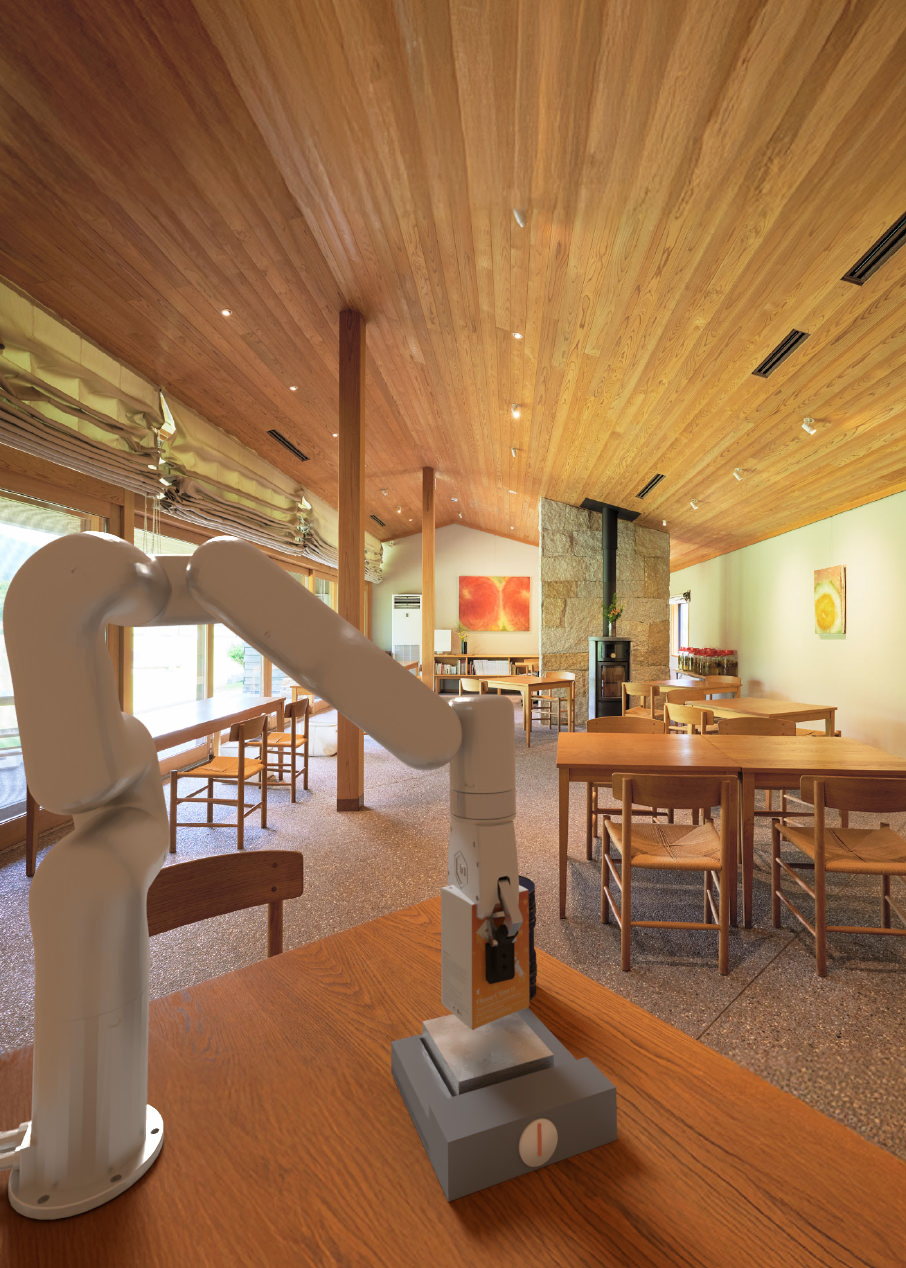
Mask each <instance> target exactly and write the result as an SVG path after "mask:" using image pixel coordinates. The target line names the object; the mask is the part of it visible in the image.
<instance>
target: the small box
mask: <svg viewBox="0 0 906 1268" xmlns="http://www.w3.org/2000/svg"><path fill="white" fill-rule="evenodd" d="M518 907H519V910H520V912H521V915H522V918H523V923H522V925H521V927H520V928H519V931H518V935H517V936H516V938H517V940H516V942H515V943H514V951H515V977H514V978H513V979H510V980H506V981H502V982H498V983H493V984H489V983H488V982H487V981H486V955H485V944H486V943H489V939H488V934H487V917H485V918H484V919H483V920H479V919H477V918H476V917H475V903H473V902H472V901H471V900H470V899H469V898H468V897H467V896H466V895H464V894H463V893H462V892H461V891H460V890H459V889H458V888H456V887H455V886H454V885H451V886H448V885H447V886H443V887H440V920H441V921H440V930H441V931H440V935H441V937H440V940H441V941H440V945H441V946H440V947H441V948H440V949H441V950H440V952H441V953H440V954H441V955H440V965H441V966H440V969H441V970H440V971H441V975H440V977H441V978H440V979H441V983H440V985H441V986H440V987H441V989H440V990H441V991H440V993H441V995H440V996H441V998H440V999H441V1001H440V1002H441V1005H443V1007H445V1008H446V1009H447V1010H448V1011H449V1012H450V1013H452V1014H454V1015H455V1016H456V1017H457V1018H458V1019H460V1020H461V1021H462V1022H463V1023H464V1024H465V1025H467V1026H468V1027H469V1028H470V1029H471V1030H474V1029H476V1028H478V1027H480V1026H483V1025H485V1024H487V1023H490V1022H492V1021H495V1020H497V1019H499V1018H502V1017H504V1016H507V1015H509V1014H512V1013H514V1012H517V1011H519V1010H522V1009H526V1008H529V1007H530V1002H529V898H528V889H526V888H524V887H522V886H520V885H519V904H518ZM499 911H503V909H502V906H501V904H495V906H494V909H493V912H499ZM493 912H492V913H493ZM494 924H495V929H496V931H497V929H498V928H499V926H500V925H503V924H504V918H498V919H494Z"/></svg>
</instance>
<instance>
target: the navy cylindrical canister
mask: <svg viewBox="0 0 906 1268" xmlns="http://www.w3.org/2000/svg"><path fill="white" fill-rule="evenodd" d="M519 885H520V886H522V887H524V888H526V889H528V898H529V1003H530V1001H531V1000H532V999H533V998H534V997H535V998H536V996H535V995H537V993H536V990H538V989H537V984H536V983H537V976H538V964H537V952H536V951H537V950H536V948H535V928H536V923H537V916H536V914H537V903H536V894H535V893H536V884H535V882H534V881H533V880H532V879H530V878H528V877H526V876H524V875H523V876H522V875H519ZM535 998H534V999H535ZM534 999H533V1000H534ZM533 1000H532V1001H533ZM532 1001H531V1002H532Z"/></svg>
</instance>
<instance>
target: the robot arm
mask: <svg viewBox="0 0 906 1268" xmlns="http://www.w3.org/2000/svg"><path fill="white" fill-rule="evenodd" d="M2 607H3V608H2V631H3V638H4V644H5V650H6V656H7V661H8V666H9V672H10V677H11V684H12V689H13V699H14V710H15V716H16V721H17V729H18V733H19V734H18V735H19V741H20V748H21V749H20V750H21V755H22V762H23V767H24V776H25V781H26V784H27V788H28V791H29V793H30V795H31V796H32V798H33V800H34V801H35V802H36V804H37V805H38V806H40V807H41V808H43V809H44V810H45V811H47V812H49V813H52V814H55V815H61V816H72V821H73V825H74V830H72V831H71V832H69V833H68V834H66V835H65V836H64V837H63V838H61V839H60V840H58V842H56V844H55V845H53V846H52V847H51V848H50V849H49V851H47V853H46V854H45V855H44V857H43V859H42V860H41V862H39V864H38V866H37V868H36V869H35V872H34V875H33V877H32V880H31V883H30V887H29V892H28V915H29V916H28V917H29V924H30V930H31V936H32V942H33V954H34V1002H33V1003H34V1006H33V1007H34V1020H33V1021H34V1023H33V1052H32V1053H33V1057H32V1087H31V1092H32V1093H31V1118H30V1120H28V1121H26V1122H25V1121H24V1122H21V1123H20V1124H19V1126H18V1127H17V1128H14V1129H9V1130H6V1131H0V1172H2V1171H7V1170H10V1169H11V1171H10V1173H9V1179H8V1185H7V1187H8V1190H7V1192H8V1201H9V1202H10V1206H11V1207H12V1208H13V1209H14V1210H15V1211H16V1212H17V1213H18V1214H20V1215H21V1216H25V1217H26V1218H30V1219H36V1220H56V1219H57V1220H59V1219H62V1218H69V1217H73V1216H76V1215H80V1214H82V1213H85V1212H88V1211H91V1210H93V1209H95V1208H97V1207H100V1206H102V1205H104V1204H105V1203H107V1202H109V1201H111V1200H113V1199H114V1198H117V1196H119V1195H121V1194H122V1193H123V1192H124V1191H126V1190H128V1189H130V1188H131V1186H132V1185H134V1184H135V1183H136V1182H137V1181H138V1180H139V1179H140V1178H142V1176H144V1175H145V1174H146V1173H147V1171H148V1170H149V1168H151V1167H152V1166H153V1163H154V1162H155V1160H156V1159H157V1158H158V1156H159V1155H160V1151H161V1150H162V1146H163V1144H164V1138H165V1137H164V1136H165V1135H164V1134H165V1131H164V1130H165V1124H164V1120H163V1116H162V1115H161V1113H160V1112H159V1111H158V1110H157V1109H155V1108H154V1107H153V1106H151V1105H150V1104H148V1081H149V1080H148V1077H149V1076H148V1075H149V1033H150V1032H149V1025H150V1021H149V1020H150V968H151V967H150V965H151V963H150V960H151V957H150V955H151V954H150V949H151V948H150V935H149V926H148V925H149V924H148V917H147V899H148V897H147V896H148V892H149V888H150V887H151V885H152V884H153V883H154V881H155V879H156V877H157V876H158V874H159V873H160V872H161V870H162V868H163V867H164V865H165V863H166V861H167V858H168V856H169V852H170V848H171V830H170V829H171V828H170V820H169V815H168V808H167V804H166V797H165V791H164V785H163V781H162V780H163V779H162V773H161V768H160V762H159V756H158V750H157V747H156V744H155V742H154V739H153V736H152V734H151V732H150V731H149V729H148V728H147V727H146V725H145V724H144V723H143V722H142V721H141V720H140V719H138V718H137V717H135V716H134V715H132V714H130V713H127V712H124V711H122V708H121V704H120V699H119V694H118V688H117V679H116V673H115V668H114V667H115V666H114V663H113V660H112V657H111V654H110V652H109V648H108V644H107V641H106V631H107V626H108V625H109V624H112V625H115V626H118V627H119V626H120V627H128V628H147V627H148V628H151V627H175V626H196V625H197V626H201V625H216V624H217V625H219V624H222V625H223V626H224V627H226V628H227V629H228V630H229V631H231V632H232V633H233V634H234V635H236V636H238V637H239V638H240V639H241V640H242V641H244V642H245V643H247V645H249V646H250V647H251V648H253V649H254V650H255V651H256V652H257V653H259V654H260V655H262V656H263V657H264V659H266V660H267V661H268V662H270V663H271V664H272V665H273V666H275V667H276V668H277V669H279V670H280V671H282V672H283V673H284V674H285V675H286V676H288V677H289V678H290V679H292V680H293V681H294V682H295V683H296V684H298V685H299V686H300V687H301V688H302V689H304V690H306V691H307V692H309V693H310V694H312V695H314V696H316V697H318V698H319V699H321V700H322V701H324V702H325V703H327V704H328V705H329V706H331V707H332V708H333V709H335V710H336V711H337V712H338V713H340V714H341V715H343V717H344V718H346V719H347V720H349V721H350V722H351V723H352V724H354V725H355V726H356V727H357V728H358V729H360V730H361V731H362V732H364V733H365V734H366V735H367V736H369V737H370V738H371V739H372V740H374V741H375V742H376V743H377V744H379V745H380V746H381V747H382V748H384V749H385V750H387V751H388V752H389V753H390V754H391V755H392V756H394V758H396V759H397V760H399V761H400V762H401V763H402V764H404V765H405V766H407V767H409V768H411V769H414V770H418V771H424V772H425V771H426V772H427V771H433V770H438V769H440V768H443V767H444V766H446V765H447V764H448V763H449V817H450V824H449V832H448V833H449V834H448V851H447V886H451V885H454V886H455V887H456V888H458V889H459V890H460V891H461V892H462V893H463V894H464V895H466V896H467V897H468V898H469V899H470V900H471V901H472V902H473V903H475V917H476V918H477V919H479V920H483V919H484V918H485V917H487V934H488V939H489V943H486V944H485V955H486V981H487V982H488V983H489V984H493V983H498V982H502V981H506V980H510V979H513V978H514V977H515V951H514V943H515V942H516V940H517V938H516V936H517V935H518V931H519V928H520V927H521V925H522V923H523V918H522V915H521V912H520V910H519V907H518V904H519V861H518V860H519V859H518V850H517V849H518V848H517V840H516V831H515V823H514V820H515V819H516V818H517V812H516V811H517V810H516V809H517V805H516V804H517V801H516V800H517V799H516V797H517V795H516V794H517V793H516V791H517V790H516V744H515V743H516V742H515V741H516V738H515V737H516V736H515V735H516V734H515V733H516V732H515V729H516V728H515V707H514V704H513V701H512V700H511V699H510V698H509V697H508V696H505V695H502V694H501V695H500V694H464V695H458V696H457V697H454V696H453V697H452V696H450V697H449V696H440V695H439V693H437V692H436V691H435V690H433V689H432V688H431V687H429V686H428V685H427V684H426V683H425V682H423V681H422V680H421V679H420V678H419V677H417V676H416V675H415V674H414V673H412V672H411V671H410V670H409V669H408V668H406V667H405V666H404V665H403V664H401V663H400V662H399V661H397V660H396V659H395V658H394V657H392V656H391V655H390V654H388V653H387V652H386V651H385V650H383V649H382V648H380V646H378V645H377V644H375V643H374V642H373V641H372V640H370V639H369V638H368V637H367V636H365V634H363V632H361V631H360V630H359V628H356V627H355V626H354V625H353V624H352V623H350V622H349V621H347V620H346V619H345V618H344V617H343V616H341V615H340V614H339V613H338V612H336V610H334V609H333V608H332V607H330V606H329V605H328V604H326V603H325V602H324V601H323V600H322V599H320V598H319V597H318V596H317V595H315V593H313V592H312V591H310V589H308V588H307V587H306V586H304V585H303V584H302V583H301V582H300V581H298V580H297V579H296V578H295V577H293V576H292V575H291V574H290V573H288V571H286V570H285V569H284V568H283V567H282V566H281V565H279V564H278V563H276V561H274V560H273V559H271V558H270V556H268V555H267V554H266V553H265V552H263V550H261V549H260V548H258V547H256V546H255V545H254V544H252V543H250V542H249V541H247V540H246V539H243V538H240V537H237V536H232V535H231V536H230V535H221V536H216V537H214V538H210V539H209V540H207V541H205V542H203V543H202V544H201V545H199V546H198V547H197V548H196V550H194V552H193V553H192V554H191V553H189V554H187V553H186V554H149V553H148V554H146V553H145V552H144V551H143V550H141V549H140V548H139V547H137V546H136V545H134V544H132V543H131V542H129V541H127V540H126V539H123V538H122V537H118V536H116V535H113V534H110V533H106V532H99V531H80V532H74V533H71V534H67V535H63V536H60V537H58V538H56V539H54V540H52V541H50V542H49V543H46V544H45V545H43V546H41V547H40V548H39V549H37V551H35V552H34V553H33V554H32V555H31V556H30V557H28V558H27V559H26V560H25V561H24V562H23V563H22V565H21V566H20V567H19V569H18V570H17V571H16V573H15V574H14V576H13V577H12V580H11V582H10V583H9V586H8V588H7V590H6V594H5V597H4V602H3V606H2ZM495 904H501V906H502V909H503V911H499V912H493V909H494V906H495ZM492 912H493V913H492ZM498 918H504V924H503V925H500V926H499V928H498V929H497V931H496V929H495V924H494V919H498Z"/></svg>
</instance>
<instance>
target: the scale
mask: <svg viewBox="0 0 906 1268" xmlns="http://www.w3.org/2000/svg"><path fill="white" fill-rule="evenodd" d="M517 1013H518V1015H519V1016H520V1017H521V1018H522V1019H523V1020H524V1021H525V1022H526V1024H527V1025H528V1026H529V1027H530V1028H531V1029H532V1030H533V1032H534V1033H535V1034H536V1035H537V1036H538V1037H539V1038H540V1039H541V1041H542V1042H543V1043H544V1044H545V1045H546V1046H547V1047H548V1049H549V1050H550V1051H551V1052H552V1053H553V1054H554V1067H551V1068H548V1069H545V1070H541V1071H538V1072H535V1073H531V1074H528V1075H524V1076H521V1077H518V1078H514V1079H511V1080H508V1081H504V1082H501V1083H498V1084H494V1085H491V1086H488V1087H484V1088H481V1089H477V1090H474V1091H471V1092H467V1093H464V1094H461V1095H457V1096H454V1097H452V1096H451V1094H450V1092H449V1091H448V1089H447V1087H446V1085H445V1083H444V1082H443V1080H442V1078H441V1076H440V1074H439V1073H438V1071H437V1069H436V1067H435V1065H434V1064H433V1062H432V1060H431V1058H430V1056H429V1055H428V1053H427V1051H426V1049H425V1048H424V1046H423V1033H420V1034H416V1035H412V1036H407V1037H404V1038H400V1039H396V1040H392V1041H391V1042H390V1044H391V1045H390V1052H391V1056H390V1057H391V1058H390V1059H391V1060H390V1061H391V1062H390V1065H391V1067H390V1068H391V1070H390V1072H391V1073H390V1074H392V1078H393V1080H394V1082H395V1084H396V1087H397V1089H398V1091H399V1093H400V1096H401V1097H402V1099H403V1100H402V1101H403V1104H404V1105H405V1107H406V1109H407V1111H408V1114H409V1116H410V1119H411V1120H412V1123H413V1125H414V1127H415V1131H416V1132H417V1135H418V1136H419V1138H420V1140H421V1144H422V1146H423V1148H424V1150H425V1152H426V1154H427V1157H428V1159H429V1161H430V1164H431V1166H432V1168H433V1171H434V1172H435V1175H436V1177H437V1180H438V1182H439V1184H440V1186H441V1189H442V1190H443V1194H444V1195H445V1198H446V1200H447V1202H448V1203H449V1202H452V1201H454V1200H455V1201H456V1200H457V1199H460V1198H462V1197H465V1196H467V1195H468V1196H469V1195H471V1194H473V1193H474V1194H475V1193H476V1192H480V1191H482V1190H484V1189H487V1188H490V1187H493V1186H495V1185H498V1184H501V1183H504V1182H507V1181H508V1180H512V1179H514V1178H517V1177H520V1176H523V1175H525V1174H528V1173H531V1172H534V1171H536V1170H539V1169H542V1168H545V1167H547V1166H550V1165H553V1164H555V1163H559V1162H560V1161H564V1160H566V1159H569V1158H572V1157H574V1156H577V1155H579V1154H580V1155H581V1154H582V1153H585V1152H588V1151H591V1150H593V1149H597V1148H598V1147H601V1146H605V1145H607V1144H610V1143H612V1142H615V1141H617V1140H618V1114H617V1113H618V1109H617V1108H618V1107H617V1106H618V1104H617V1086H616V1085H614V1084H613V1082H612V1081H611V1080H610V1079H609V1078H608V1077H607V1076H606V1075H605V1074H604V1073H603V1072H602V1071H601V1070H600V1069H599V1068H598V1067H597V1066H596V1064H594V1062H593V1061H592V1060H590V1059H589V1057H588V1056H586V1057H582V1058H579V1059H576V1058H575V1056H574V1055H573V1054H572V1053H571V1052H570V1051H569V1050H568V1049H567V1048H566V1047H565V1045H564V1044H563V1043H562V1042H561V1041H560V1040H559V1039H558V1038H557V1037H556V1036H555V1035H554V1034H553V1033H552V1032H551V1031H550V1029H548V1027H547V1026H546V1025H545V1024H544V1023H543V1022H542V1021H541V1020H540V1018H538V1017H537V1016H536V1014H535V1013H533V1011H532V1010H531V1009H530V1008H529V1007H528V1008H526V1009H522V1010H519V1011H517Z"/></svg>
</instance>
